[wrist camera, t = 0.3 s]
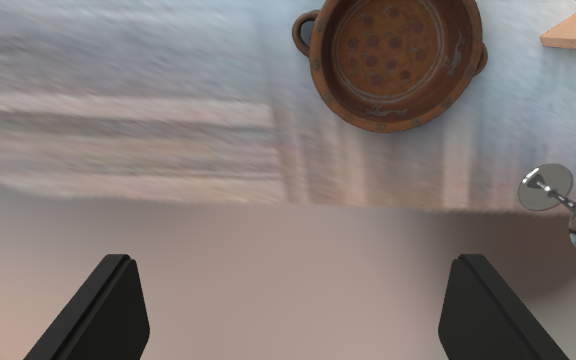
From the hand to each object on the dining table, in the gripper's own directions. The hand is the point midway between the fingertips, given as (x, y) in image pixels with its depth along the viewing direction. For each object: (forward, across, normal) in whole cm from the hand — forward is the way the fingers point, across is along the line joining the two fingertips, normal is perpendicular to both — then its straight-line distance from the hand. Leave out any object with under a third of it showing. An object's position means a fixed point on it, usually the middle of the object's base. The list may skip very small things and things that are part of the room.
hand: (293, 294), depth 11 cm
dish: (+37, -11, -4) cm, 39 cm away
